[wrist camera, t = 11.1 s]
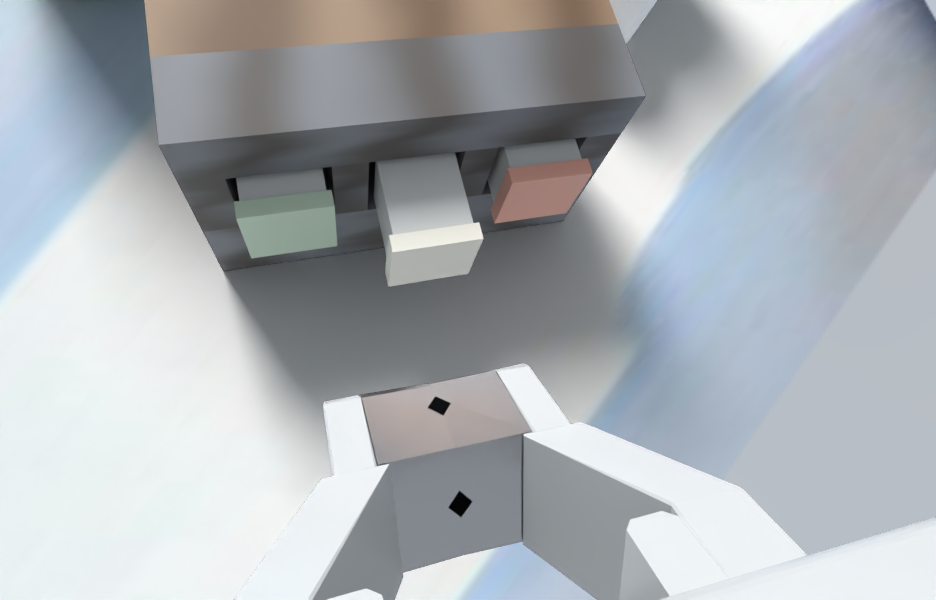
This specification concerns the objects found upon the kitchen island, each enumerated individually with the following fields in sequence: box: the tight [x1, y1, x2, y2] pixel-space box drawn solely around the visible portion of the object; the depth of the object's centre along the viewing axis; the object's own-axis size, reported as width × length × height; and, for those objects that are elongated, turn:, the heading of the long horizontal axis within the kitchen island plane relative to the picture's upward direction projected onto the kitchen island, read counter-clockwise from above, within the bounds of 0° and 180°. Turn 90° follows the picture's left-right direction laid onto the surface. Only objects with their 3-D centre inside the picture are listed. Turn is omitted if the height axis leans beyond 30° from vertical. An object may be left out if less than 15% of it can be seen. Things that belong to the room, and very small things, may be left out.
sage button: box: [234, 168, 337, 258], centre depth 29 cm, size 4×5×4 cm
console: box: [144, 0, 646, 271], centre depth 32 cm, size 20×8×12 cm, turn 103°
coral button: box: [487, 139, 593, 224], centre depth 31 cm, size 4×5×4 cm
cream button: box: [374, 152, 484, 287], centre depth 29 cm, size 4×5×4 cm
